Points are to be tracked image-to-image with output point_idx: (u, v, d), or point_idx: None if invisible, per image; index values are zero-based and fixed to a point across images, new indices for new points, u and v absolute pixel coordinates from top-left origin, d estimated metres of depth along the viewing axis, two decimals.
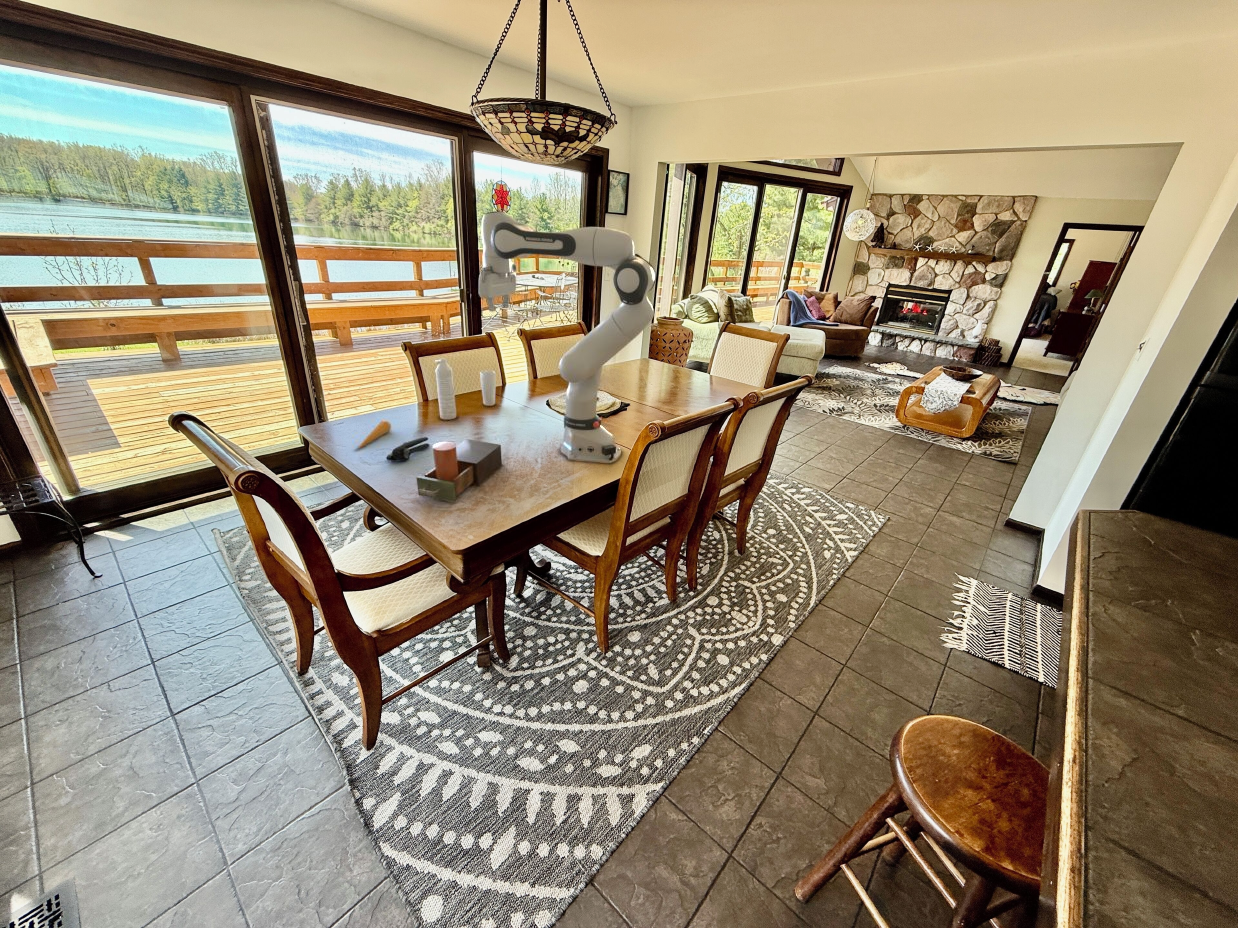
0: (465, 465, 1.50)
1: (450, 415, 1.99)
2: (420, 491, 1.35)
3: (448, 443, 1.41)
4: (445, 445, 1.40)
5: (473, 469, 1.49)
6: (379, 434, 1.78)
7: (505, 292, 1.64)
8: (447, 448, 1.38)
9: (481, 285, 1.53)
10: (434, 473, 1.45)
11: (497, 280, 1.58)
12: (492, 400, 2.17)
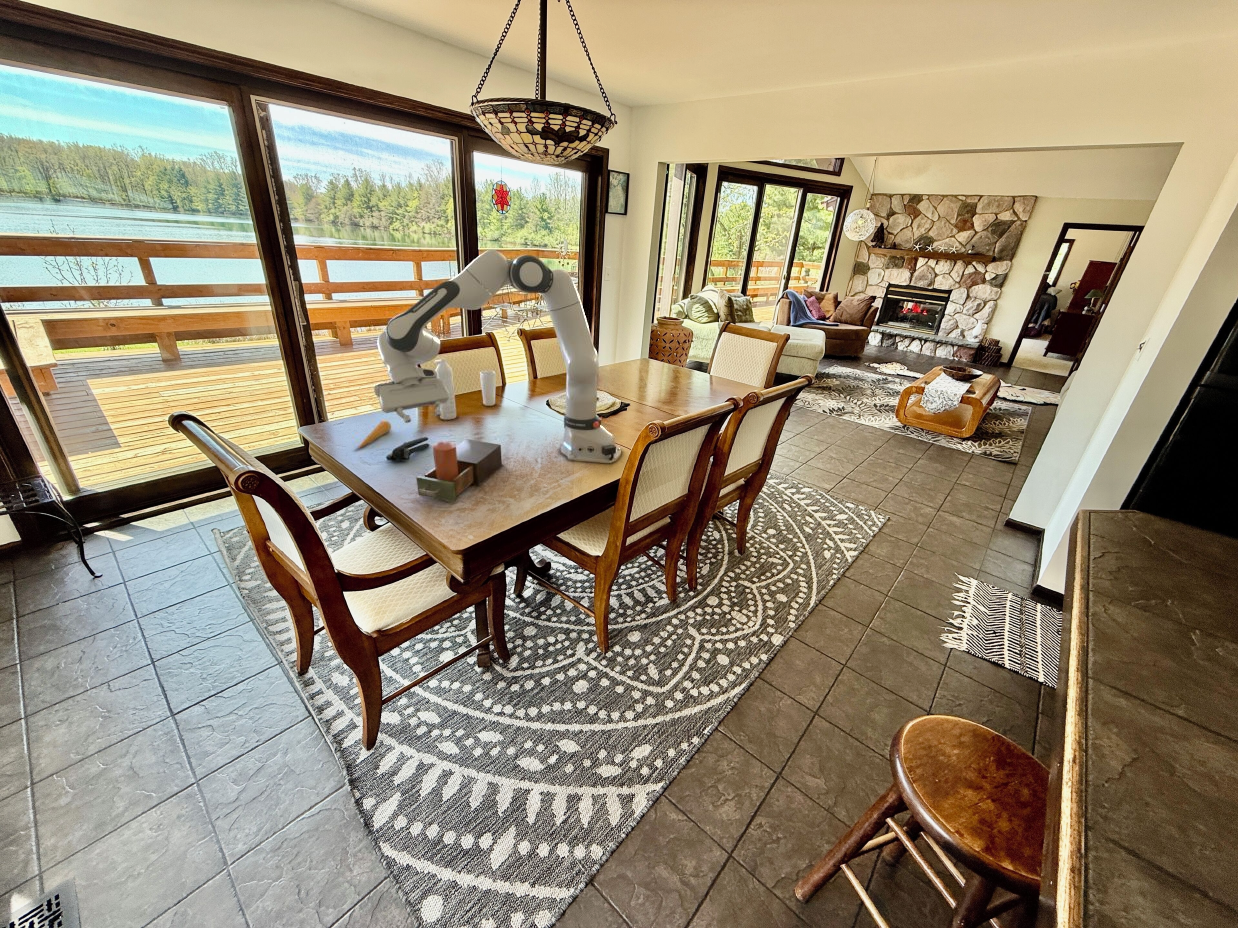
0: (465, 465, 1.50)
1: (450, 415, 1.99)
2: (420, 491, 1.35)
3: (448, 443, 1.41)
4: (445, 445, 1.40)
5: (473, 469, 1.49)
6: (379, 434, 1.78)
7: (423, 399, 1.47)
8: (447, 448, 1.38)
9: (379, 400, 1.41)
10: (434, 473, 1.45)
11: (402, 389, 1.44)
12: (492, 400, 2.17)
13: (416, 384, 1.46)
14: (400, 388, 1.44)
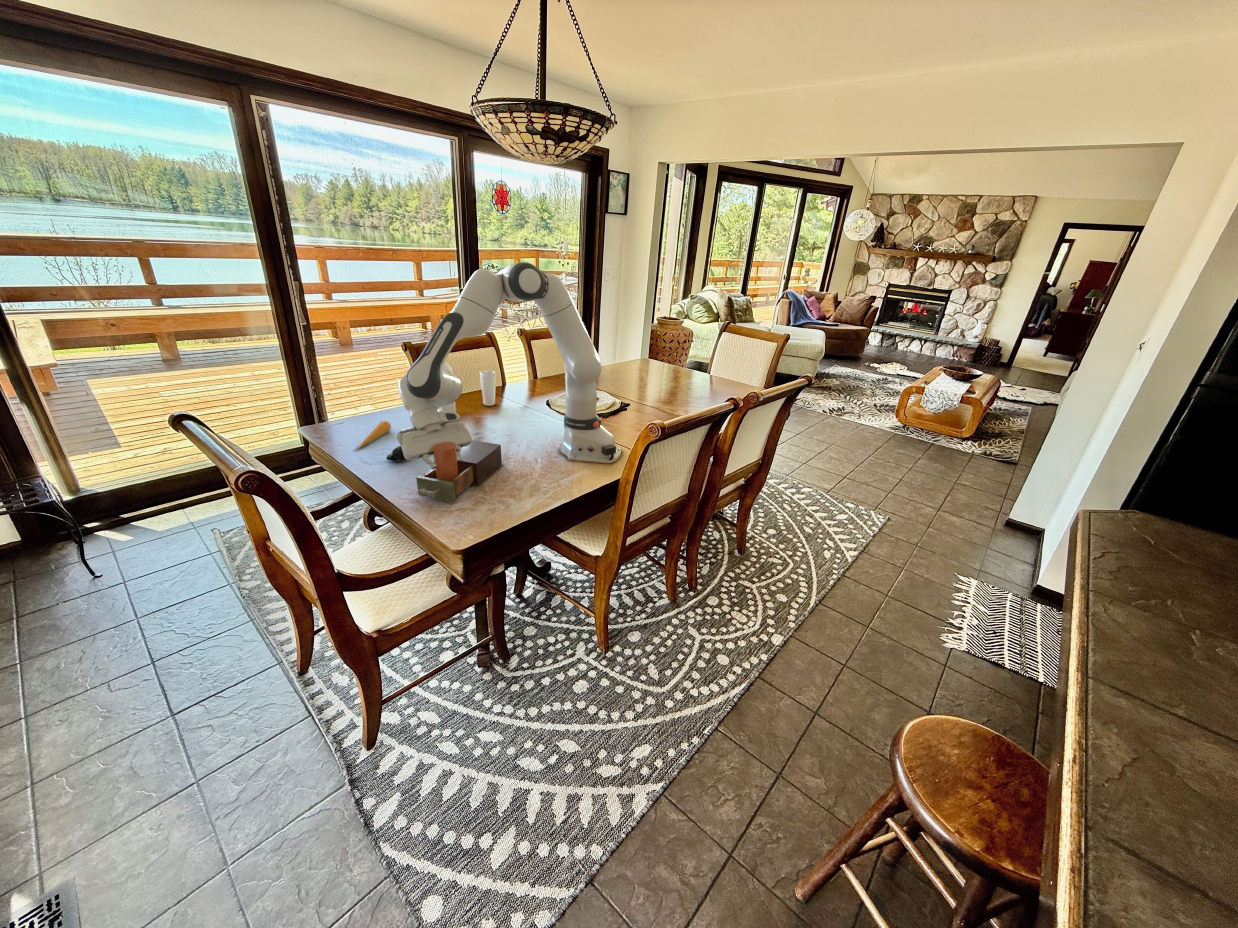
0: (465, 465, 1.50)
1: None
2: (420, 491, 1.35)
3: (448, 443, 1.41)
4: (445, 445, 1.40)
5: (473, 469, 1.48)
6: (379, 434, 1.78)
7: None
8: (447, 448, 1.38)
9: (402, 448, 1.37)
10: (434, 473, 1.44)
11: (425, 435, 1.40)
12: (492, 400, 2.17)
13: (439, 429, 1.42)
14: (423, 434, 1.40)
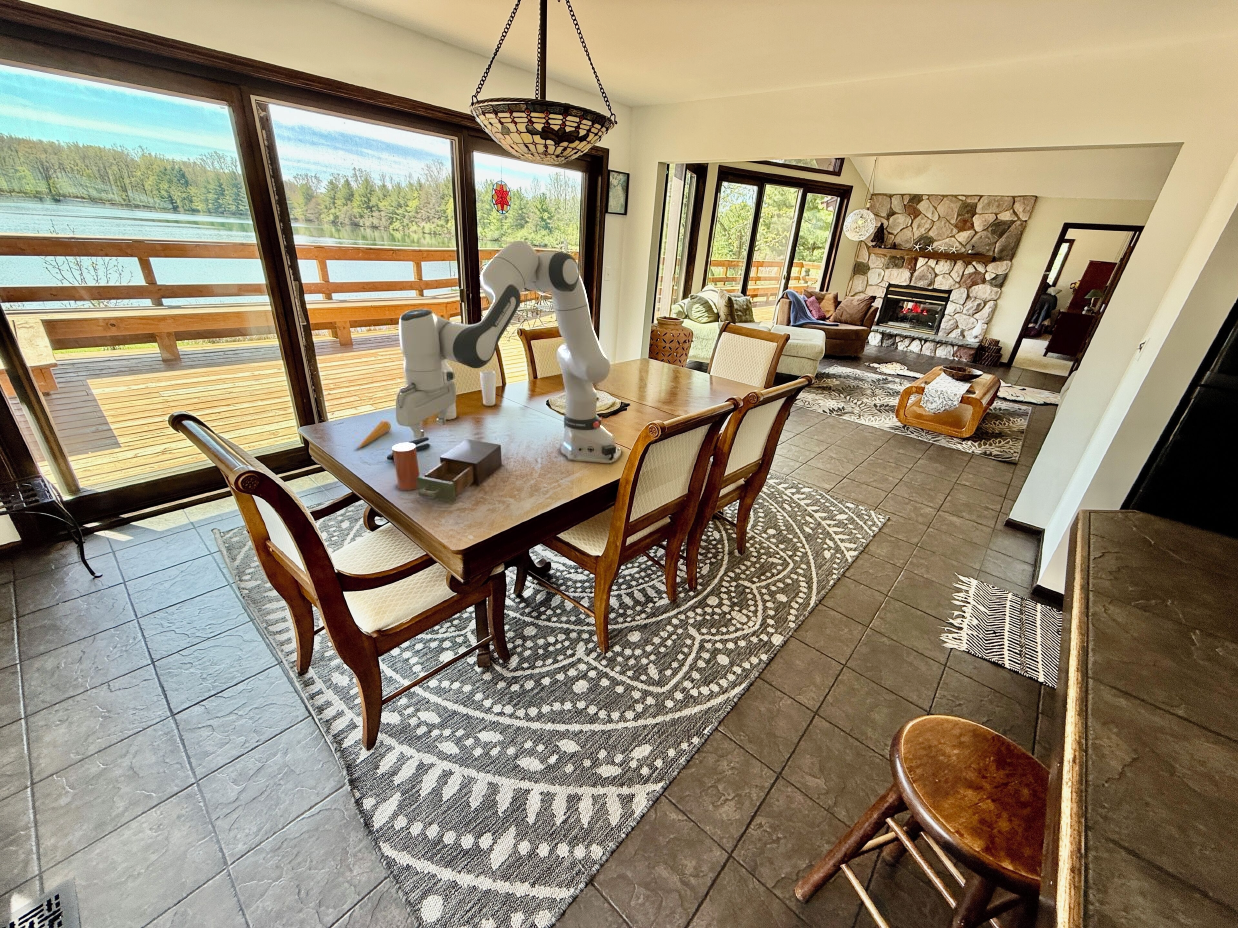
0: (465, 465, 1.50)
1: (450, 415, 1.99)
2: (420, 491, 1.35)
3: (408, 444, 1.44)
4: (404, 446, 1.42)
5: (473, 469, 1.48)
6: (379, 434, 1.78)
7: (438, 409, 1.23)
8: (406, 449, 1.41)
9: (399, 411, 1.12)
10: (434, 473, 1.44)
11: (424, 398, 1.17)
12: (492, 400, 2.17)
13: None
14: (423, 397, 1.16)
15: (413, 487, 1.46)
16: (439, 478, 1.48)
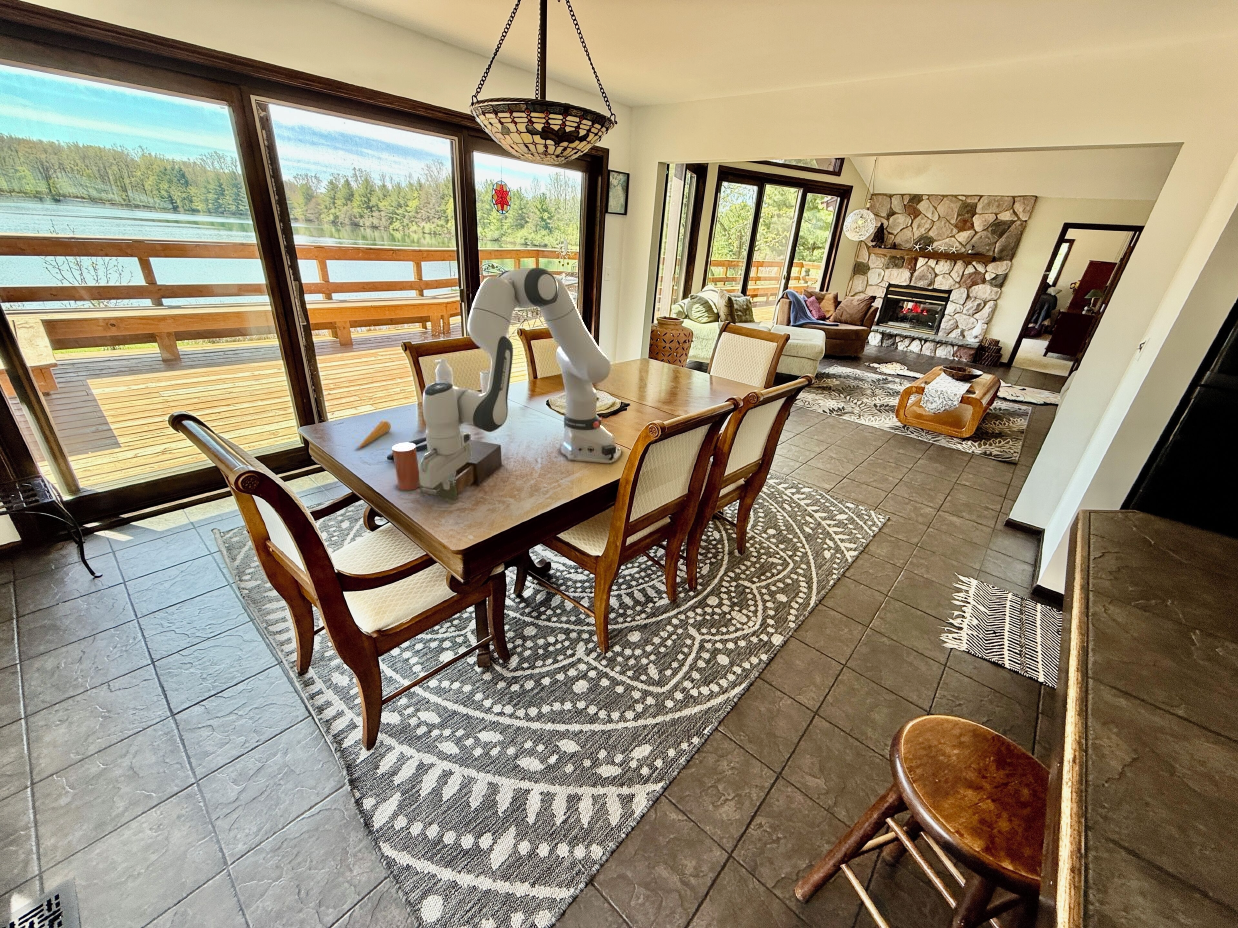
0: (466, 464, 1.50)
1: None
2: (422, 490, 1.36)
3: (408, 444, 1.44)
4: (404, 446, 1.42)
5: (474, 468, 1.49)
6: (379, 434, 1.78)
7: (456, 468, 1.35)
8: (406, 449, 1.41)
9: (422, 475, 1.24)
10: None
11: (444, 461, 1.29)
12: None
13: None
14: (443, 460, 1.28)
15: (413, 487, 1.46)
16: None
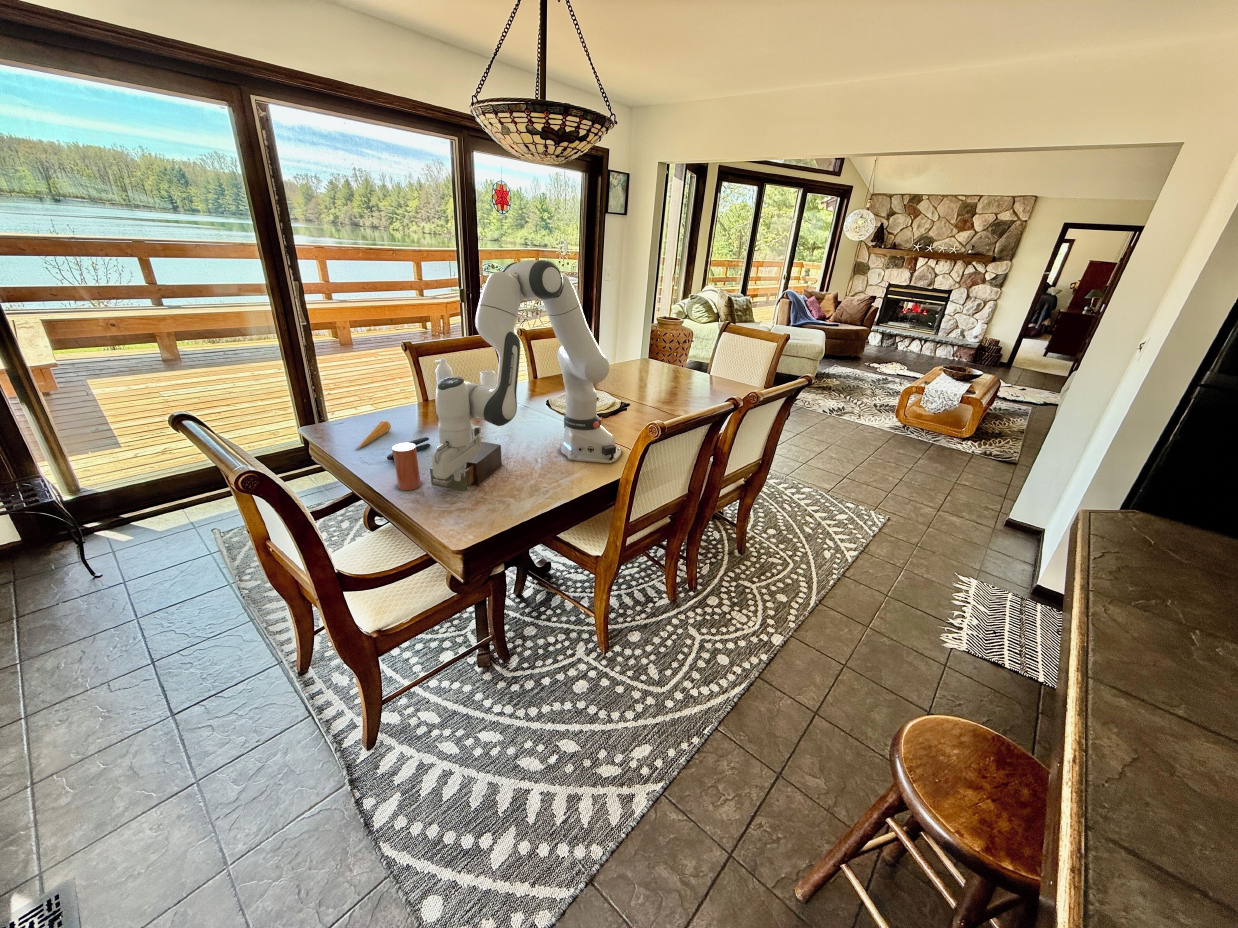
0: None
1: None
2: (434, 481, 1.41)
3: (408, 444, 1.44)
4: (404, 446, 1.42)
5: None
6: (379, 434, 1.78)
7: (467, 460, 1.40)
8: (406, 449, 1.41)
9: (435, 466, 1.29)
10: None
11: (456, 453, 1.34)
12: None
13: None
14: (455, 452, 1.33)
15: (413, 487, 1.46)
16: None
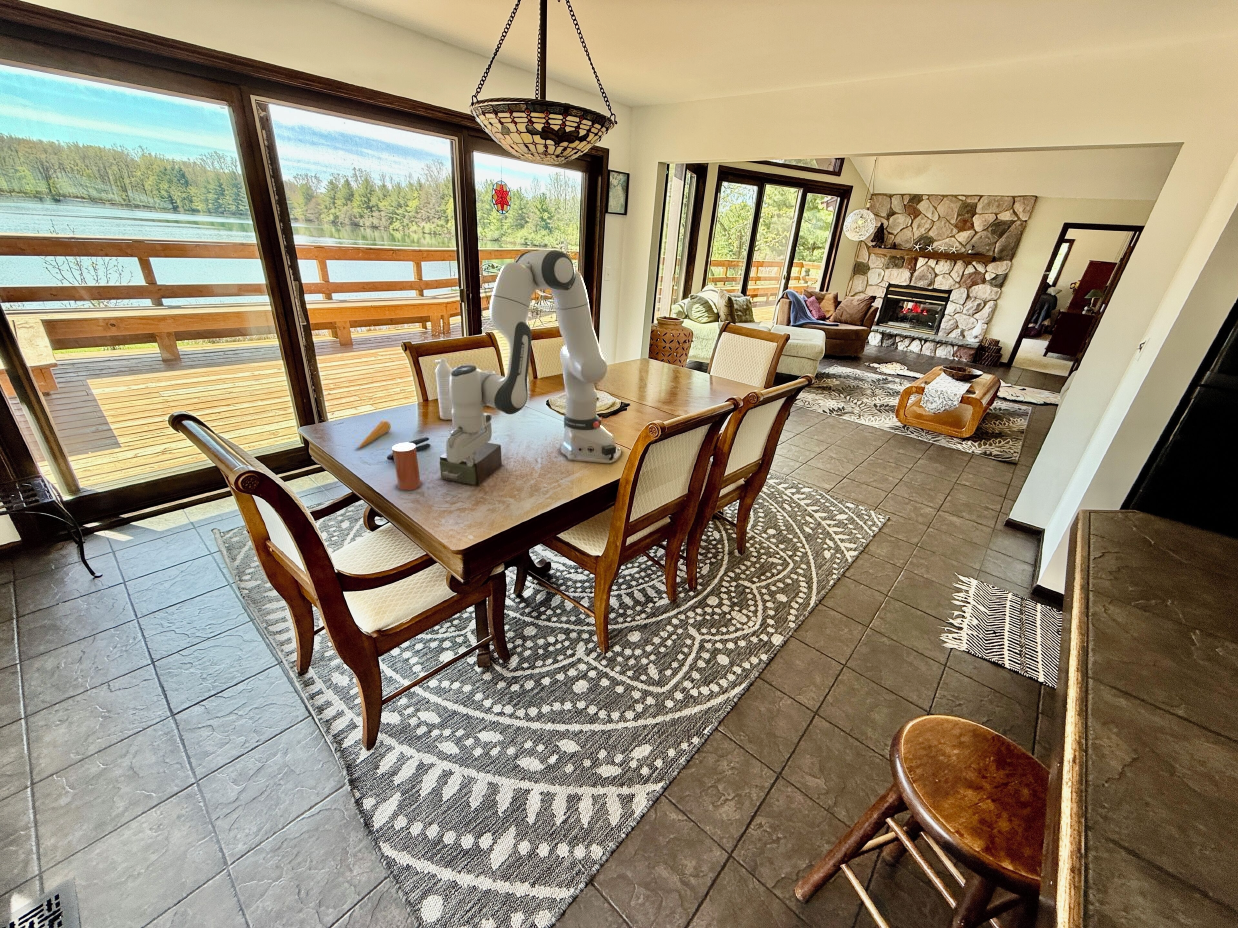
0: None
1: (450, 415, 1.99)
2: (443, 474, 1.45)
3: (408, 444, 1.44)
4: (404, 446, 1.42)
5: None
6: (379, 434, 1.78)
7: (478, 446, 1.45)
8: (406, 449, 1.41)
9: (449, 451, 1.34)
10: None
11: (468, 438, 1.39)
12: None
13: None
14: (468, 438, 1.38)
15: (413, 487, 1.46)
16: None
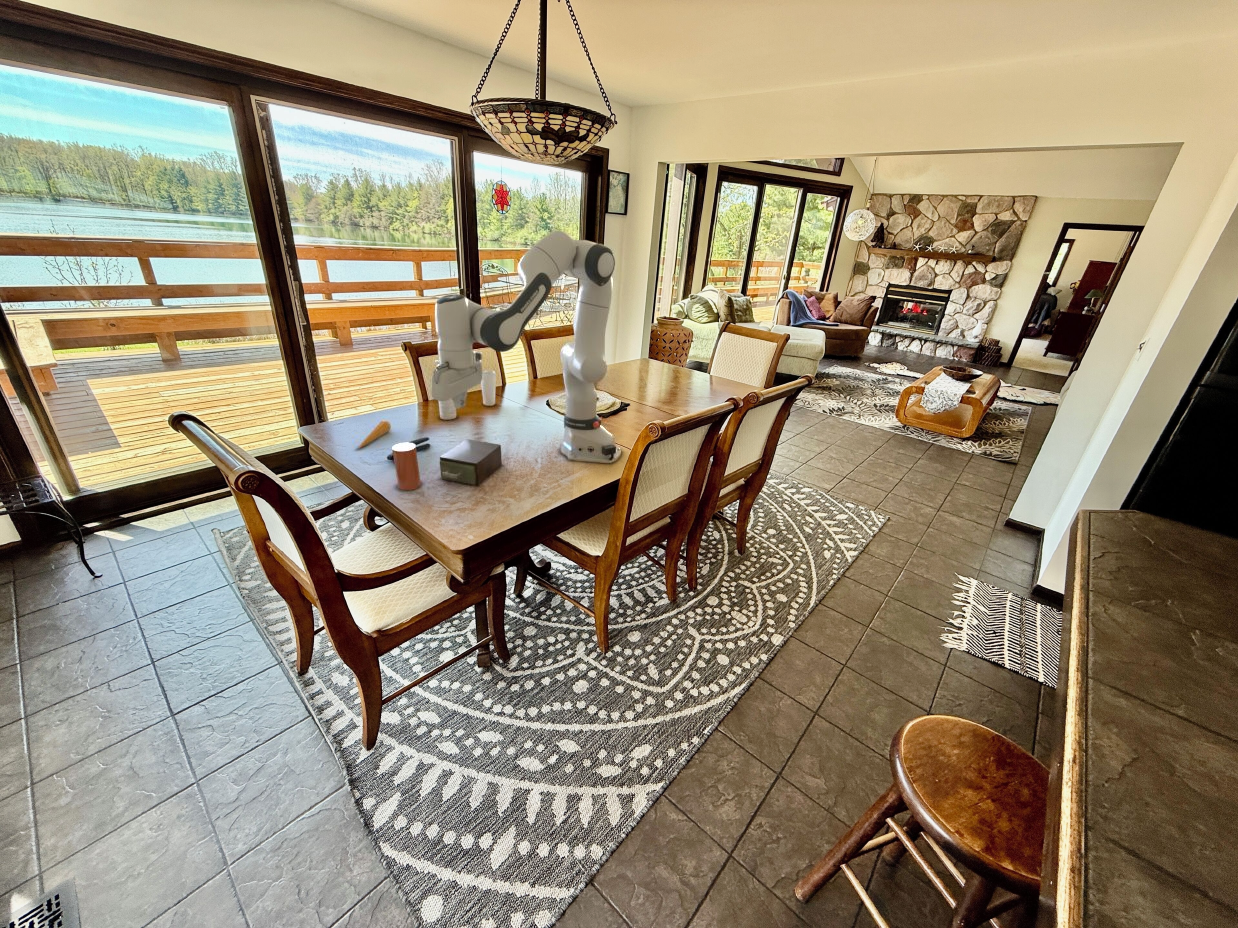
0: None
1: (450, 415, 1.99)
2: (443, 474, 1.45)
3: (408, 444, 1.44)
4: (404, 446, 1.42)
5: None
6: (379, 434, 1.78)
7: (467, 387, 1.34)
8: (406, 449, 1.41)
9: (434, 386, 1.23)
10: None
11: (456, 376, 1.28)
12: (492, 400, 2.17)
13: None
14: (455, 375, 1.27)
15: (413, 487, 1.46)
16: None
